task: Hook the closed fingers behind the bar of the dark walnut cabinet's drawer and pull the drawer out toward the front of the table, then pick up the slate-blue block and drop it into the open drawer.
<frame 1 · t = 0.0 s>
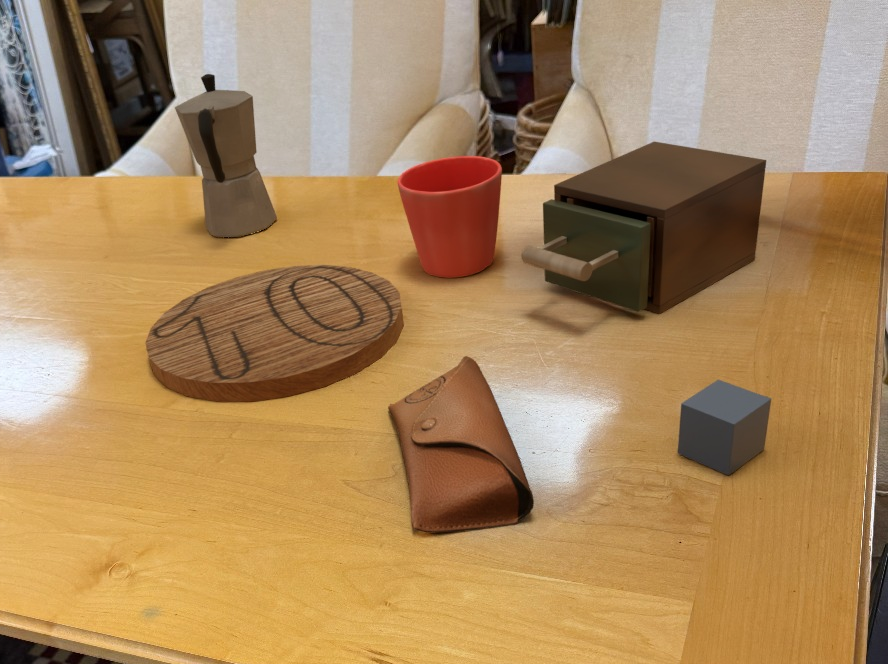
block: (720, 451, 65), on the table
trivet: (277, 337, 89), on the table
sunglasses case: (453, 460, 68), on the table
cabinet: (654, 270, 90), on the table
flower pot: (457, 265, 98), on the table
drawer: (619, 241, 85), point 5 cm above the table, slide at 1.0 cm
coffeepot: (241, 229, 116), on the table
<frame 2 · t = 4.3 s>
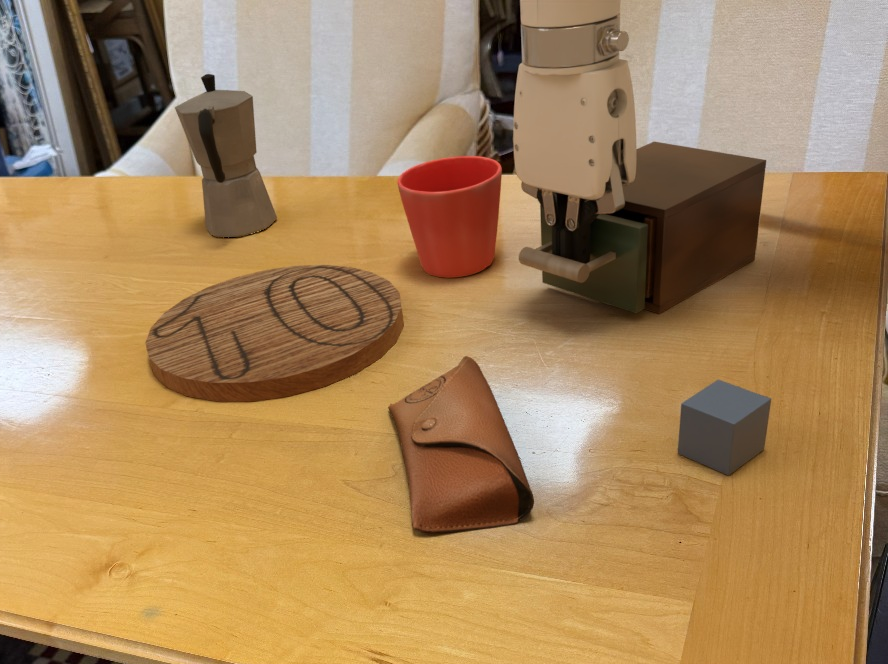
hand: (571, 266, 82), 5 cm above the table, tool pointing down, fingers closed
drawer: (617, 242, 84), point 5 cm above the table, slide at 1.4 cm
everything else where it was.
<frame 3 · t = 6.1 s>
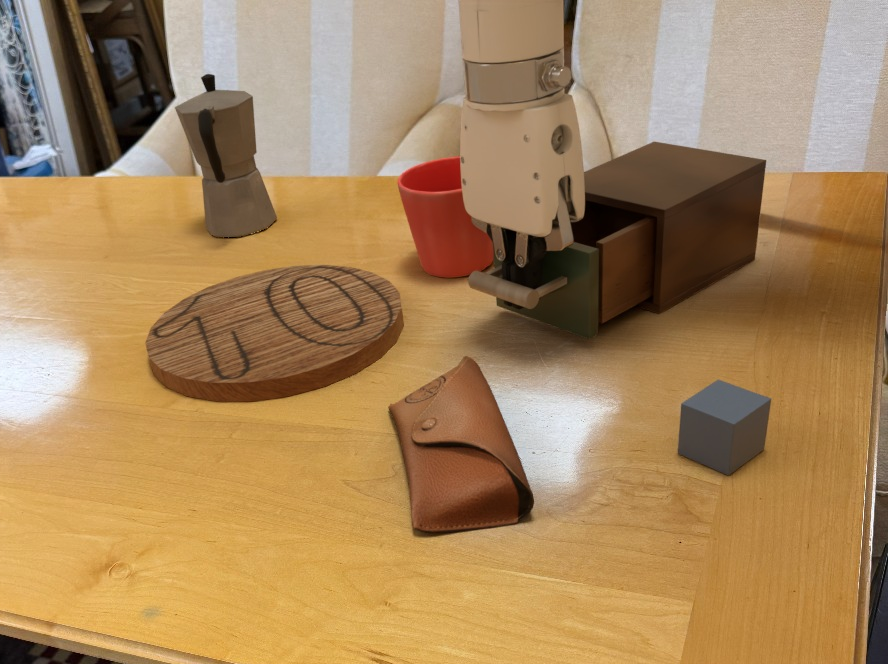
hand: (523, 301, 80), 4 cm above the table, tool pointing down, fingers closed
drawer: (571, 265, 82), point 5 cm above the table, slide at 7.6 cm, touching gripper
everything else where it was.
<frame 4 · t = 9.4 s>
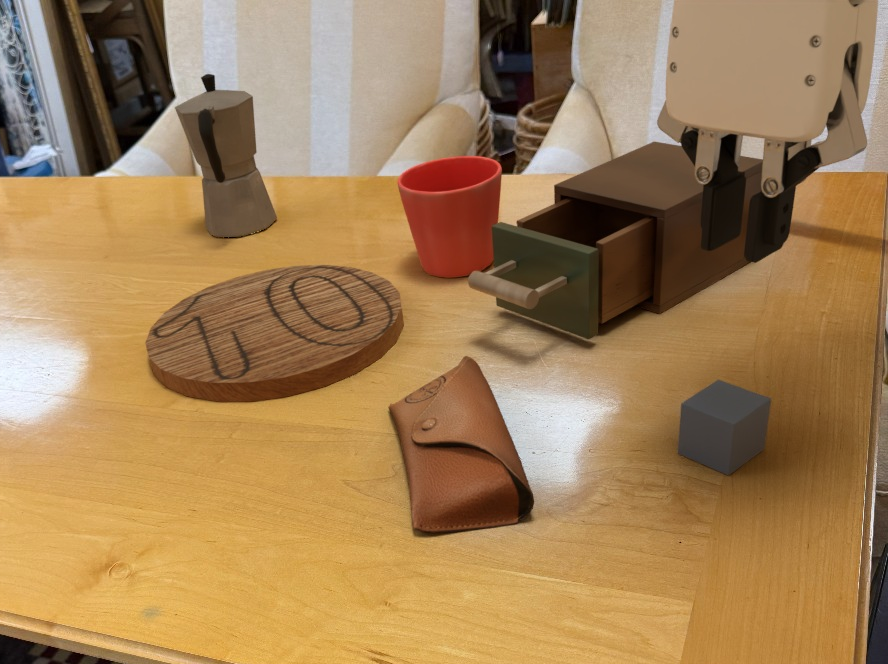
hand: (742, 246, 56), 15 cm above the table, tool pointing down, fingers closed
drawer: (571, 265, 82), point 5 cm above the table, slide at 7.6 cm
everything else where it was.
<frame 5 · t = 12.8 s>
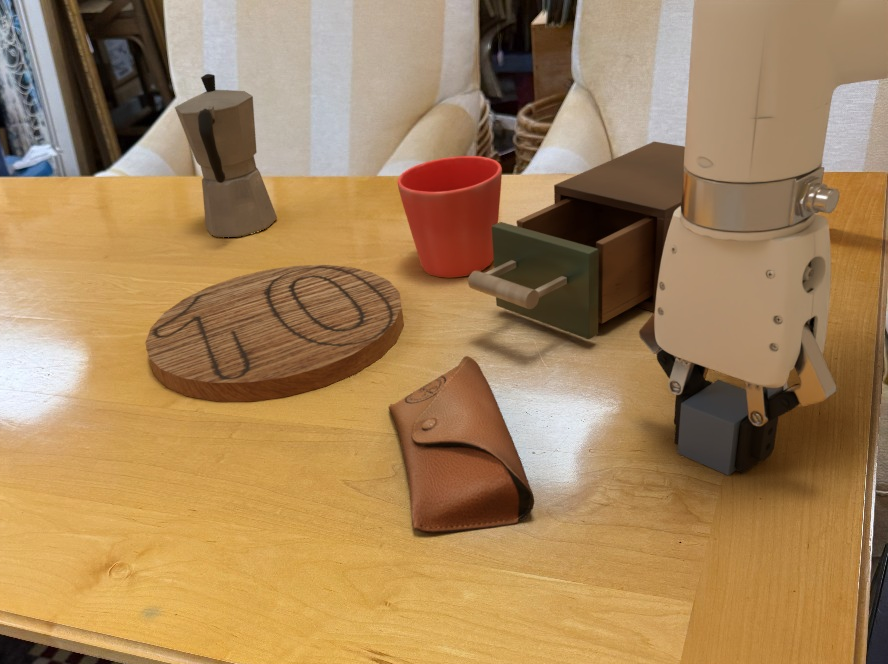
hand: (720, 447, 64), 0 cm above the table, tool pointing down, fingers closed on block, 4 cm apart
block: (720, 451, 65), on the table, touching gripper
everything else where it was.
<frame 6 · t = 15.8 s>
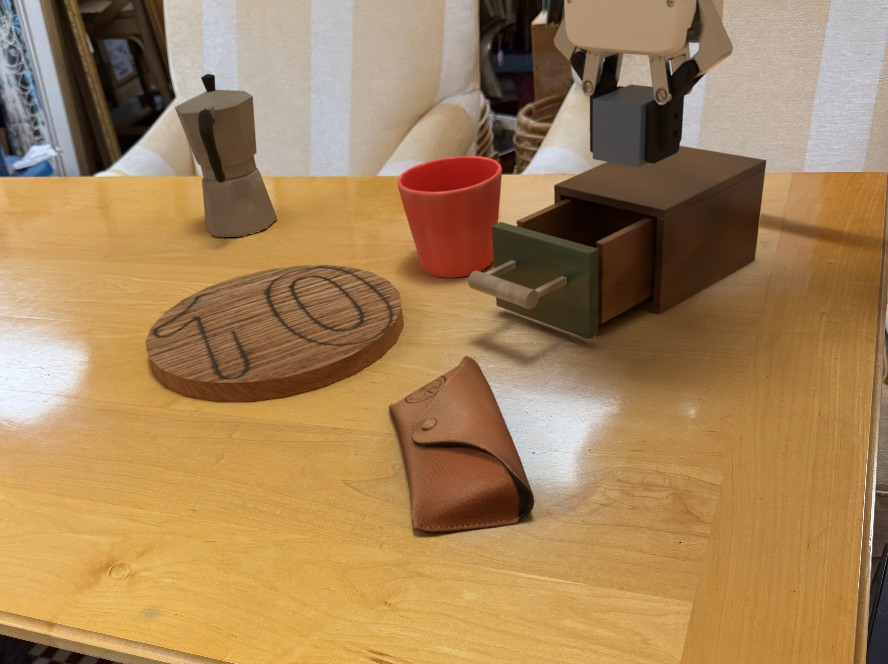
hand: (633, 150, 67), 17 cm above the table, tool pointing down, fingers closed on block, 4 cm apart
block: (633, 155, 67), point 17 cm above the table, touching gripper
everything else where it was.
when the fingers open (8 cm above the table, at t = 19.2 s): block drops 6 cm, resting on drawer.
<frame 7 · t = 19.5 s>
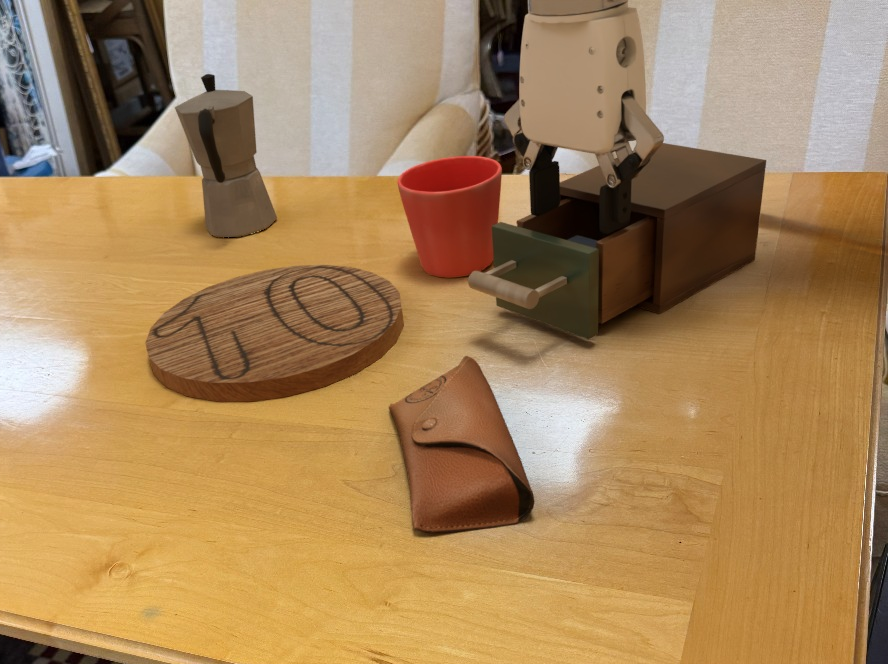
hand: (578, 218, 80), 9 cm above the table, tool pointing down, fingers open, 7 cm apart
block: (579, 291, 84), point 2 cm above the table, touching drawer
drawer: (571, 265, 82), point 5 cm above the table, slide at 7.6 cm, touching block
everything else where it was.
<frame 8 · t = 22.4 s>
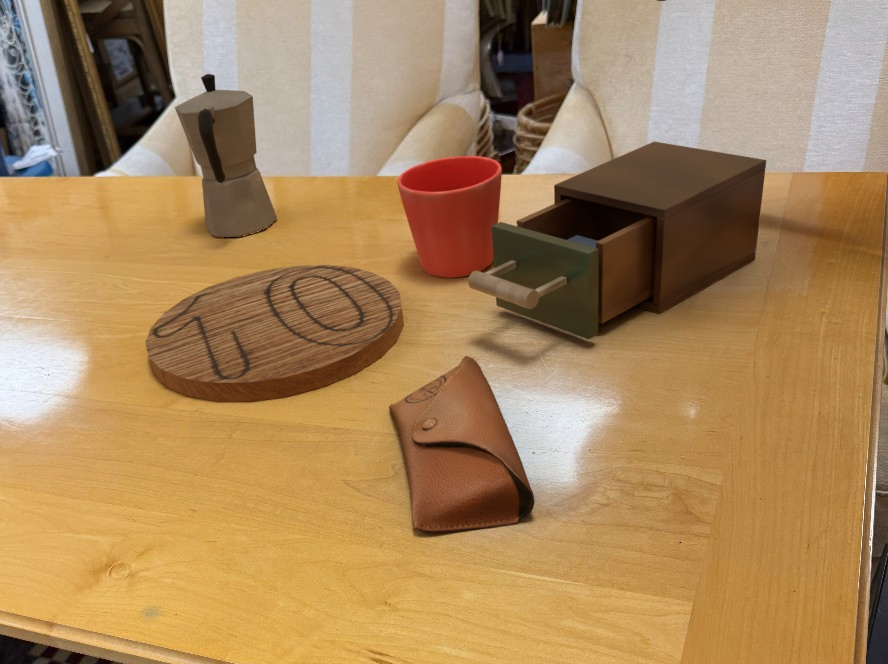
nothing on the table moved.
at the end: drawer slide at 7.6 cm; block inside the target area in the drawer (1.0 cm from its centre), point 2.0 cm above the cabinet's base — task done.
